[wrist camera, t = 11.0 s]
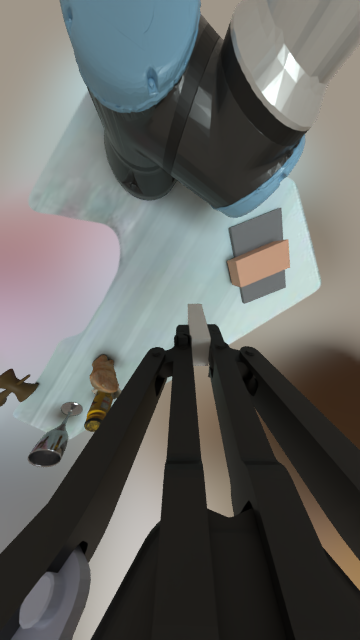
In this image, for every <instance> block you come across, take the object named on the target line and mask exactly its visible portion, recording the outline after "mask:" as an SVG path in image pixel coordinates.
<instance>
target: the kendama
mask: <svg viewBox="0 0 360 640" xmlns="http://www.w3.org/2000/svg"><path fill="white" fill-rule="evenodd" d="M29 377H30V375H27V376H26V377H24V378H23V379H22V380H19V379H17V378H16V376H15V373H14V371H13V369H9V370H7V371H6V372H4V373H3V374H2V375H0V388H3V389H6V390H4V391H3V392H1V393H0V406H2V405H3V404H4V403H5V402H6V400H7V398H6V397H7V396H8V395H9V394H10V393H11V392H13V393H15V395H16V396H17V399H18V400H19V402H22V401H24V400H25V399H27V398H28V397H29V396H30V395H31V394H32V393H33V392H34V391H35V390H36V389H37V387H38V384H31V383H25V382H24V381H25V380H26V379H27V378H29Z"/></svg>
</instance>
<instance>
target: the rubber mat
mask: <svg viewBox="0 0 360 640" xmlns="http://www.w3.org/2000/svg"><path fill="white" fill-rule="evenodd" d="M229 233H230V239H231V244H232V249H233V255H234V258H235V257H238V256H240V255H242V254H245V253H247V252H250V251H252V250H254V249H257V248H259V247H261V246H264V245H266V244H269V243H271V242H273V241H280V240H283V230H282V212H281V208H279V209H276V210H274V211H271V212H269V213H266V214H263V215H261V216H258V217H256V218H253V219H251V220H248V221H246V222H243V223H241V224H238V225H236V226H233V227H231V228H229ZM285 287H286V284H285V270H282V271H280V272H277V273H275V274H273V275H270V276H268V277H265V278H263V279H261V280H258V281H256V282H253V283H251V284H249V285H246V286H244V287H240V292H241V297H242V302H243V303H244V304H245V303H247V302H250V301H252V300H255V299H258V298H260V297H263V296H265V295H268V294H270V293H273V292H275V291H278V290H280V289H283V288H285Z"/></svg>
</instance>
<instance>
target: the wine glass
mask: <svg viewBox="0 0 360 640" xmlns="http://www.w3.org/2000/svg"><path fill="white" fill-rule="evenodd" d="M82 410H83V409H82V406H81V405H79V404H78V403H74V402H68V403H65V404H63V405H62V406H61V411H62V413H64V414H65V415H67V417H66V418H65V420H64V421H63V422H62V424H61V425H60V426H58V427H57V428H55V429H53V430H51V431H49V432H47V433H46V434H45V435H44V436H43V437H42V438H41V439H40V440H39V442H38V443H37V444H36V445H35V447H34V448H33V450H32V451H31V453H30V454H29V456H28V461H29V462H30V463H31V464H32V465H34V466H38V467H51V466H54V465H56V464H57V463H59V462H60V460H61V458H62V456H63V454H64V451H65V449H66V446H67V442H68V433H67V431H66V423H67V420H68V418H69V416H76V415H79V414H80V413H81V412H82Z"/></svg>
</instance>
